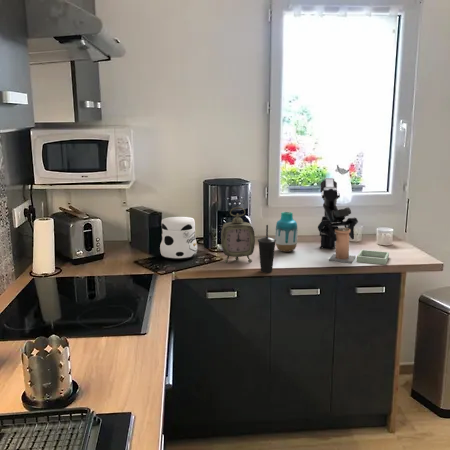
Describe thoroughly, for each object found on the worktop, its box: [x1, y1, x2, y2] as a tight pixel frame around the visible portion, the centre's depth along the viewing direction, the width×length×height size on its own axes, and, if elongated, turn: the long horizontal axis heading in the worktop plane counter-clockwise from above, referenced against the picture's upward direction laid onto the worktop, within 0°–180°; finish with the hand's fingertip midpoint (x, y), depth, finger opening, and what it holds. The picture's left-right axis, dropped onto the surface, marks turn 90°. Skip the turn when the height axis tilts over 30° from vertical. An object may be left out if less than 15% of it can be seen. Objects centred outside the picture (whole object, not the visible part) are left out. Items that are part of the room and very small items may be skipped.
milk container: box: [159, 216, 198, 261], centre depth 236 cm, size 17×17×18 cm
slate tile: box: [328, 253, 356, 264], centre depth 233 cm, size 10×10×1 cm
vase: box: [274, 211, 299, 253], centre depth 246 cm, size 11×11×19 cm
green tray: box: [356, 249, 390, 265], centre depth 232 cm, size 13×13×2 cm
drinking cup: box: [257, 224, 276, 274], centre depth 213 cm, size 8×8×20 cm
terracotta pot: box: [335, 227, 351, 259], centre depth 232 cm, size 7×7×13 cm
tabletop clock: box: [220, 206, 256, 264], centre depth 228 cm, size 14×9×25 cm, turn 95°
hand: (344, 239), depth 230 cm, fingers open, 9 cm apart
